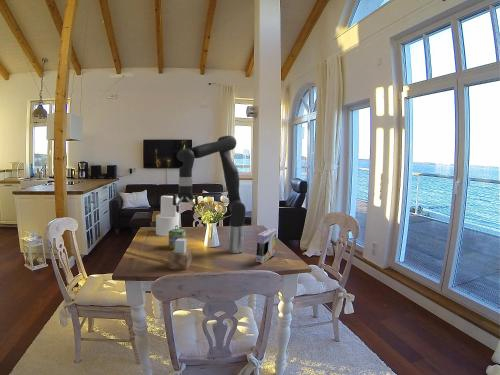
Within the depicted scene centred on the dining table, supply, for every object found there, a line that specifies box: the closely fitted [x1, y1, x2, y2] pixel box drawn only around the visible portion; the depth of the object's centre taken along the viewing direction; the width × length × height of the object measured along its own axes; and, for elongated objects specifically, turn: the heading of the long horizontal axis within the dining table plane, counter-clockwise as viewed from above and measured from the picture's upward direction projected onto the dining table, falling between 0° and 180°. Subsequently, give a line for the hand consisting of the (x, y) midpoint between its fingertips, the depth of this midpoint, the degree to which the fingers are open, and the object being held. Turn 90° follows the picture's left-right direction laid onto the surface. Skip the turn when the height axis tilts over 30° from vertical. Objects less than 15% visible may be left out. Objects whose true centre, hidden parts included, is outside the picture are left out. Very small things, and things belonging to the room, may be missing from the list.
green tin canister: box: [168, 225, 187, 250], centre depth 214 cm, size 9×9×15 cm
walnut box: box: [168, 249, 193, 271], centre depth 180 cm, size 10×10×8 cm
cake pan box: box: [255, 228, 278, 263], centre depth 197 cm, size 19×5×18 cm, turn 151°
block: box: [175, 238, 188, 254], centre depth 179 cm, size 5×5×7 cm
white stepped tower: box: [155, 195, 181, 237], centre depth 248 cm, size 17×17×28 cm
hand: (185, 212), depth 186 cm, fingers open, 8 cm apart
